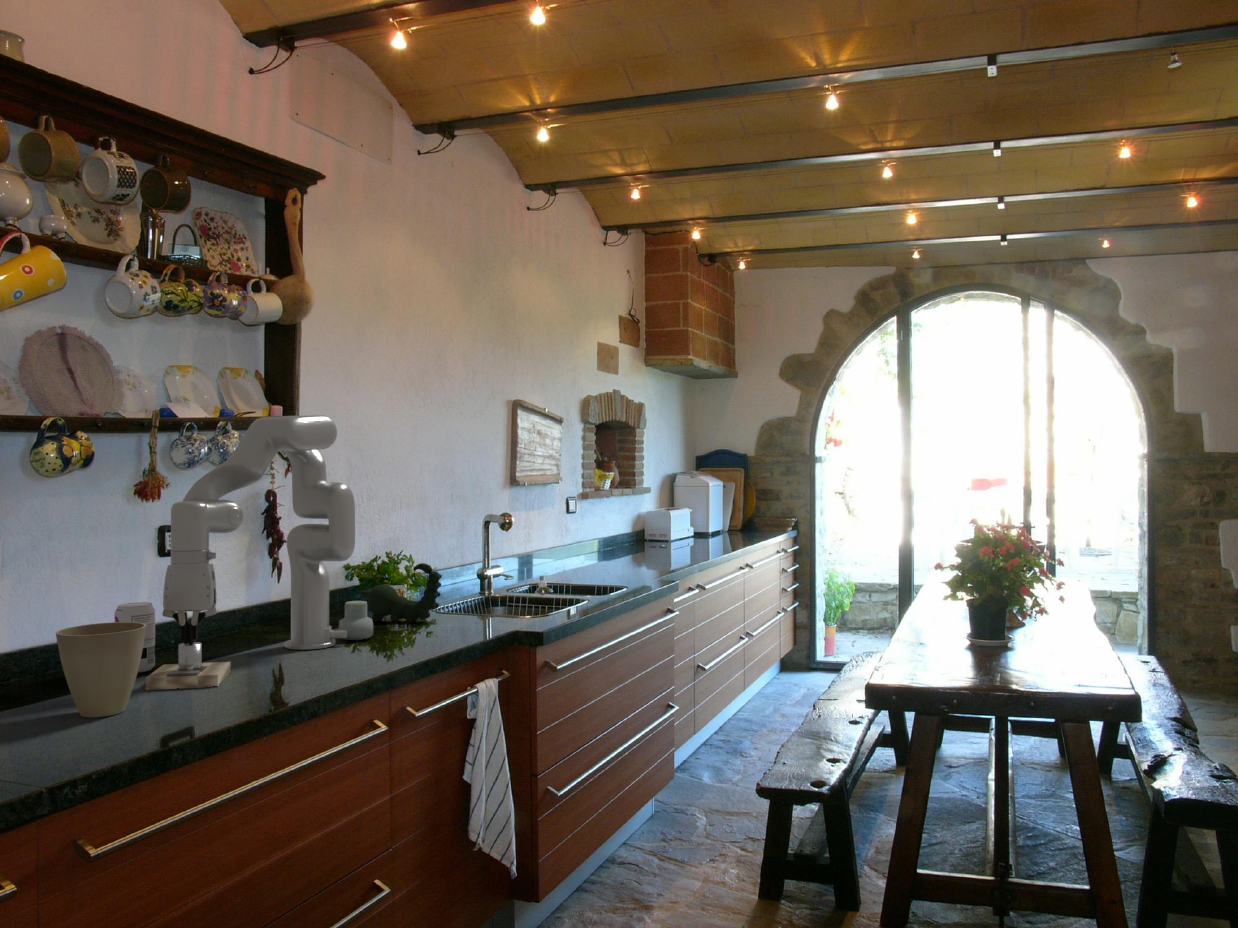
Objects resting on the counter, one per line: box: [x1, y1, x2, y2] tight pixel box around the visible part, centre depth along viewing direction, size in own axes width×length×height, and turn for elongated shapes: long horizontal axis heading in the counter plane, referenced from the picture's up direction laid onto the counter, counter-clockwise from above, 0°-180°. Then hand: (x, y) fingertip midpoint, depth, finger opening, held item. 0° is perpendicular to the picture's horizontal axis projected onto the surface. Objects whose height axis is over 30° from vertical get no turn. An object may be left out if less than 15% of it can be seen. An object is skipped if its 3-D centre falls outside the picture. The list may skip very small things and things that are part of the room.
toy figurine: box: [358, 562, 442, 624], centre depth 283 cm, size 9×19×25 cm
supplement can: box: [114, 601, 156, 674], centre depth 215 cm, size 8×8×15 cm
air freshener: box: [338, 600, 374, 641], centre depth 254 cm, size 11×8×10 cm
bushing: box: [177, 641, 203, 672], centre depth 203 cm, size 5×5×8 cm
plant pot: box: [55, 621, 146, 718], centre depth 177 cm, size 15×15×16 cm
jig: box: [145, 661, 232, 691], centre depth 203 cm, size 14×14×3 cm
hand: (189, 642), depth 203 cm, fingers closed
